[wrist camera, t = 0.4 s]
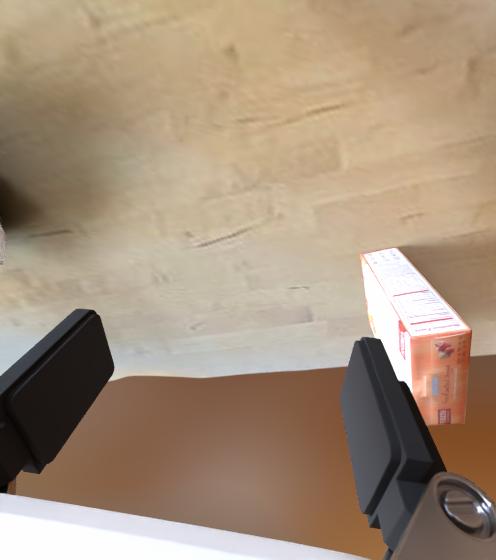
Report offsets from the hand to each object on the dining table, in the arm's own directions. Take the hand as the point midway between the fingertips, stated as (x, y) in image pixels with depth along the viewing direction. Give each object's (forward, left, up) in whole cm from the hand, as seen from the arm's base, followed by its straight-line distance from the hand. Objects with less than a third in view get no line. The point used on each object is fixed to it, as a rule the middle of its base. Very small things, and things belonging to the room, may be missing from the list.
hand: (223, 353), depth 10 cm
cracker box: (+25, +6, -36) cm, 44 cm away
